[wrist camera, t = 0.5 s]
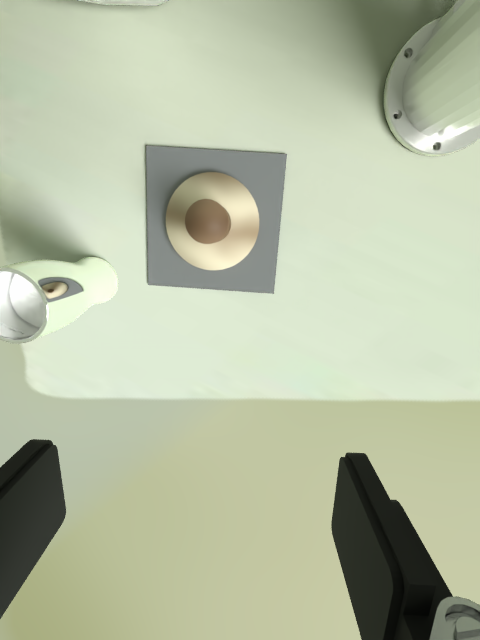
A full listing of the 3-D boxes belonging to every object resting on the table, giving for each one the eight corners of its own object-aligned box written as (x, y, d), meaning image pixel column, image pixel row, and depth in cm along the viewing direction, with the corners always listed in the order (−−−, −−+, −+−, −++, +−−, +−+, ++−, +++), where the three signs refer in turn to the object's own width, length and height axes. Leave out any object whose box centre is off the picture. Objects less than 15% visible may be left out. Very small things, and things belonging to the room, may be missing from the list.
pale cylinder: (132, 279, 40) (66, 305, 26) (100, 317, 42) (21, 361, 27) (89, 241, 39) (-5, 246, 25) (58, 281, 41) (-48, 307, 26)
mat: (147, 146, 36) (146, 145, 36) (286, 154, 36) (286, 154, 36) (149, 284, 40) (148, 284, 40) (273, 293, 40) (273, 293, 40)
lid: (167, 170, 36) (152, 159, 31) (262, 176, 36) (265, 166, 30) (167, 266, 39) (153, 272, 34) (255, 272, 39) (256, 279, 33)
